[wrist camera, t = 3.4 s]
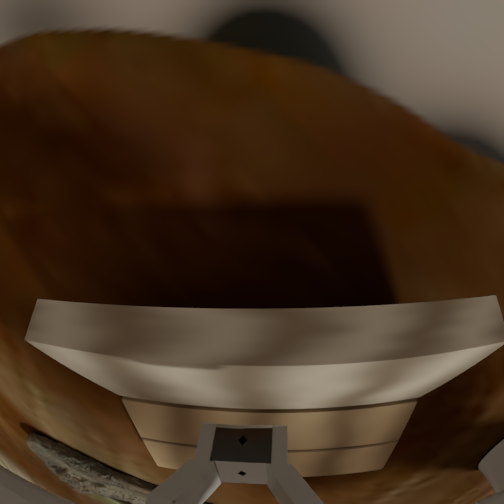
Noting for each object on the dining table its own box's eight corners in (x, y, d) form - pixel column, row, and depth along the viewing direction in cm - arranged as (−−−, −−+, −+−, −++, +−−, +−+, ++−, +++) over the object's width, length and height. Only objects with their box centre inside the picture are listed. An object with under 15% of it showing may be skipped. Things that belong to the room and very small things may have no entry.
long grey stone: (221, 512, 41) (241, 495, 38) (219, 535, 36) (240, 523, 33) (35, 445, 36) (28, 418, 33) (24, 466, 32) (14, 442, 28)
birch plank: (495, 295, 12) (508, 340, 11) (415, 368, 22) (419, 397, 20) (37, 298, 14) (24, 339, 13) (124, 367, 24) (119, 395, 22)
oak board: (409, 380, 23) (417, 402, 20) (378, 451, 27) (382, 469, 25) (131, 379, 25) (120, 400, 22) (163, 448, 29) (157, 466, 27)
